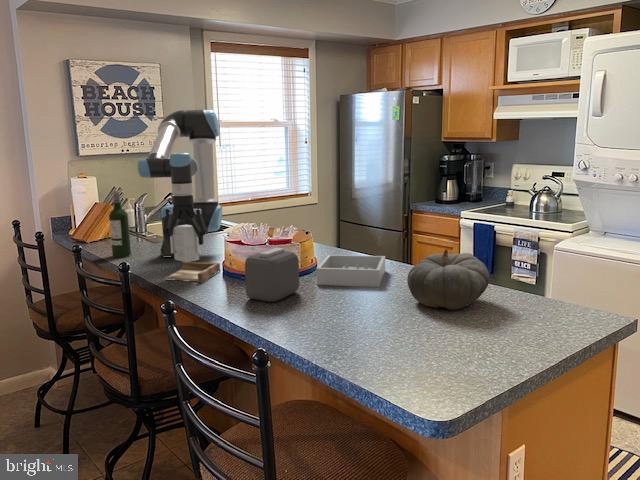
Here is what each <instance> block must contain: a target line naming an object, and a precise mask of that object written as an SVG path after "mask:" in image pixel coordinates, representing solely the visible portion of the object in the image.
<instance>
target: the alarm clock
mask: <svg viewBox="0 0 640 480" xmlns="http://www.w3.org/2000/svg"><path fill="white" fill-rule="evenodd" d="M299 263H300V262H299V257H298V255H297V254H296V253H295V252H293V251H285V248H282V247H273V248H271V249H267V250H264V251H260V252H257V253H254V254H251V255H249V256H248V257H246V259H245V263H244V273H245V275H244V276H245V293H246V297H247V298H248V299H250V300H257V301H263V302H268V303H275V302H278V301H280V300H283V299H284V298H286V297H289V296H291V295H293V294H295V293H296V292H297V291H298V290H299V288H300V269H299V266H300V265H299Z"/></svg>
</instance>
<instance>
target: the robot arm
mask: <svg viewBox="0 0 640 480" xmlns="http://www.w3.org/2000/svg"><path fill="white" fill-rule="evenodd" d="M219 126H220V125H219V121H218V117H217V114H216V113H215V111H214V110H212V109H190V110H189V109H186V110H185V109H181V110H176V111H174V112H172V113H170V114H169V115H167V116H165V118H163V119H162V121H160V123H159V125H158V127H157V131H158V132H157V135H156V138H155V141H154V142H153V145H152V147H151V149H150V152H149V153H148V156H147V158H146V157H144V158H139V159H138V161H137V172H138V175H139V176H140V177H141V178H142V179H143V178H146V179H152V178H153V179H155V178H158V179H159V178H170V180H171V193H172V203H171V204H168V205H166V206H163V207H162V208H161V211H160V212H161V217H160V218H161V227H162V242H161V247H160V251H159V252H160V255H162V256H171V257H174V242H173V229H174V227H175V226H179V225H191V226H193V228H194V230H195V231H196V233H197V235H198V236H197V237H196V243H197V254H199V255H200V254H202V253H203V248H202V245H203V244H204V236H205V235H208V233H210V232H218V230H219V229H220V228H221V225H222V219H223V206H222V205H220V204H219V201H218V200H217V199H216V197H215V177H214V176H215V173H214V171H215V170H214V143H215V142H216V141H217V137H219V136H220V127H219ZM180 138H189V142H190V143H191V144H192V151H193V152H192V153H193V157H191V154H190V153H188V152H174V153H173V152H172V150H173V148H174V145H175V143H176V141H178V139H180ZM193 176H194V187H193V178H192V177H193ZM193 188H194V190H193ZM193 191H194V192H193ZM193 194H194V195H193Z"/></svg>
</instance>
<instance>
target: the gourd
mask: <svg viewBox="0 0 640 480" xmlns="http://www.w3.org/2000/svg"><path fill="white" fill-rule="evenodd" d="M490 276H491V275H490V273H489V269H488V268H487V266H486V264H485V263H484V262H482V261H481V260H480V259H479V258H478V257H476V256H474V255H473V254H472V253H469V252H462V253H454V254H452V253H448V249H446V248H445V249H444V251H443V253H433V254H429V255H428V256H426V257H424V258H423V259H421V260H419V261H418V262H417V263H416V264H415V265H414V266H413V267H412V268H411V269H410V270H409V272H408V274H407V278H406V279H407V286H408V289H409V292H410V293H411V294H410V295H411V296H412V297H413V299H414V300H416V301H417V302H418V303H420V304H421V305H424V306H426V307H429V308H435V309H437V308H445V309H448V310H453V311H455V310H461V309H462V308H464V307H466V306H468V305H470V304H472V303H473V302H475V301H476V300H478V299H479V298H480V297H481V296H482V295H483V294H484V293H485V291H486V290H487V288H488V286H489V283H490V280H491V277H490Z"/></svg>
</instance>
